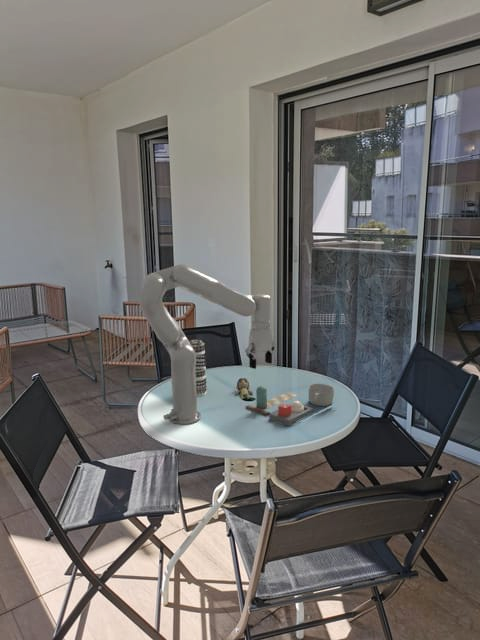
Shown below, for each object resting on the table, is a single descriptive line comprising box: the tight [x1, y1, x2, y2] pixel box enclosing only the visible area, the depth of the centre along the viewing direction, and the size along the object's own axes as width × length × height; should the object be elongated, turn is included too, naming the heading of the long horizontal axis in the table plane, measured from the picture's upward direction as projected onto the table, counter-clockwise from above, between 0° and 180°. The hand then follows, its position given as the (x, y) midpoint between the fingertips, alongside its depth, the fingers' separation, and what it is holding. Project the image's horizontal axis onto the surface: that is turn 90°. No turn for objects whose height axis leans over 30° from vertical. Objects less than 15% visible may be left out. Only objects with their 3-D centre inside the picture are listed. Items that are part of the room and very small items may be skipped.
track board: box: [245, 391, 298, 416], centre depth 207 cm, size 25×12×1 cm, turn 136°
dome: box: [289, 400, 304, 413], centre depth 195 cm, size 6×6×5 cm
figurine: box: [235, 377, 254, 400], centre depth 217 cm, size 8×6×15 cm
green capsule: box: [255, 385, 268, 410], centre depth 200 cm, size 4×4×9 cm
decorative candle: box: [188, 339, 208, 397], centre depth 219 cm, size 9×9×25 cm
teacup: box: [308, 383, 335, 407], centre depth 203 cm, size 14×11×8 cm
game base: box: [268, 403, 315, 427], centre depth 193 cm, size 16×10×6 cm, turn 136°
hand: (260, 365), depth 197 cm, fingers open, 9 cm apart
